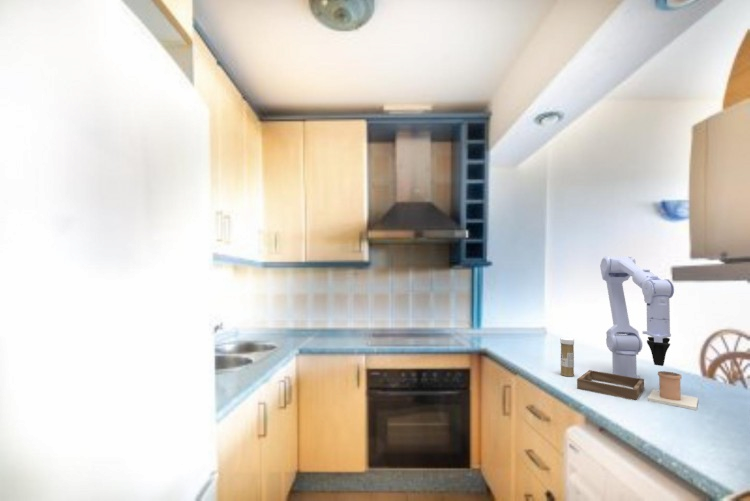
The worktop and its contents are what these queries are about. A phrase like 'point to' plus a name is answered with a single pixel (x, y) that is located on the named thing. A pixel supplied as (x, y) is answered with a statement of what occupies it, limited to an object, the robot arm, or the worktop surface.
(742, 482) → the worktop surface
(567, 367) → the sprinkles bottle
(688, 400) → the ceramic tile
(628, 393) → the box
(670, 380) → the terracotta pot
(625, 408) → the worktop surface
